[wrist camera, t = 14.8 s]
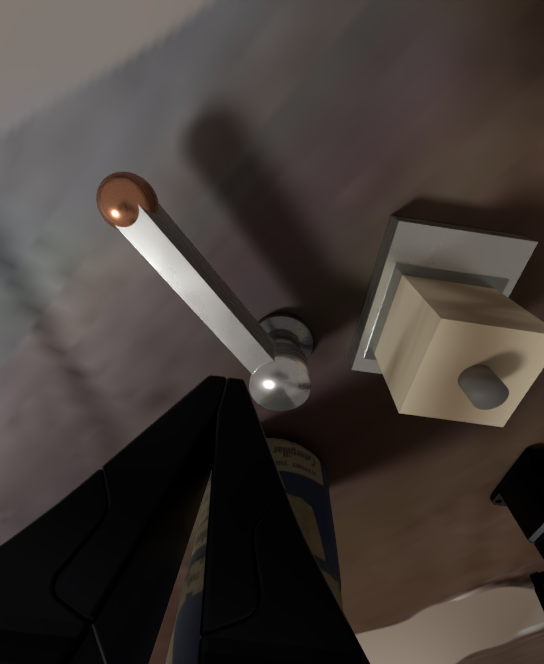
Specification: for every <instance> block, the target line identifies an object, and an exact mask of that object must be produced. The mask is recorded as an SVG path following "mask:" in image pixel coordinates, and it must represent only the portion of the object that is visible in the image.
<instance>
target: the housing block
mask: <svg viewBox="0 0 544 664" xmlns="http://www.w3.org/2000/svg"><path fill="white" fill-rule="evenodd" d="M374 354H375V357H376V359H377V361H378V364H379V366H380V369H381V371H382V374H383V376H384V378H385V381H386V383H387V386H388V388H389V390H390V393H391V395H392V398H393V400H394V402H395V405H396V407H397V410H398V412H399V413H402V414H409V415H416V416H424V417H431V418H438V419H446V420H453V421H461V422H468V423H475V424H483V425H490V426H497V427H504V425H505V424H506V422H507V421H508V419H509V418H510V416H511V415H512V413H513V412H514V410H515V409H516V407H517V406H518V405H519V403H520V402H521V400H522V399H523V397H524V396H525V394H526V393H527V391H528V390H529V388H530V387H531V385H532V384H533V382H534V381H535V380H536V378H537V377H538V375H539V374H540V372H541V371H542V369H543V368H544V322H543V321H541V320H540V319H538V318H537V317H535V316H534V315H533V314H531V313H530V312H528V311H527V310H525V309H524V308H522V307H521V306H520V305H518V304H517V303H515V302H514V301H512V300H511V299H509V298H508V297H506V296H505V295H504V294H502V293H501V292H499V291H498V290H496V289H494V288H488V287H481V286H474V285H468V284H461V283H454V282H448V281H441V280H434V279H428V278H421V277H414V276H408V275H402V277H401V280H400V283H399V286H398V288H397V291H396V294H395V297H394V300H393V302H392V305H391V308H390V311H389V314H388V317H387V319H386V322H385V325H384V328H383V331H382V334H381V336H380V339H379V342H378V345H377V348H376V350H375V353H374Z"/></svg>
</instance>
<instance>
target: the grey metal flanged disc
mask: <svg viewBox="0 0 544 664" xmlns="http://www.w3.org/2000/svg"><path fill="white" fill-rule="evenodd" d="M258 323H259V324H260V325H261V326H262V327H263V329H264V330H265V331H266V332H267V333H268V334H269V336H270V337H271V338H272V339H273V340H274V342H286V343H290V344H293V345H295V346H297V347H299V348H300V349H301V350H302V351H303V352H304V353H305V355H306V357H307V359H308V358H309V357H310V355H311V353H312V350H313V339H312V333H311V330H310V328H309V327H308V325H307V324H306V323H305V322H304V321H303V320H302V319H300V318H299V317H297V316H295V315H292V314H288V313H275V314H271V315H268V316H266V317H264V318H262V319H261V320H260V321H259V322H258Z"/></svg>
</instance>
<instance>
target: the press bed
mask: <svg viewBox="0 0 544 664" xmlns="http://www.w3.org/2000/svg"><path fill="white" fill-rule="evenodd" d="M537 244H538V242H537V241H534V240H531V239H529V238H526V237H524V236H521V235H517V234H510V233H504V232H497V231H490V230H484V229H477V228H471V227H464V226H458V225H451V224H444V223H438V222H431V221H425V220H418V219H412V218H405V217H399V216H392V215H390V219H389V222H388V225H387V229H386V232H385V235H384V238H383V242H382V245H381V248H380V252H379V255H378V258H377V261H376V265H375V268H374V271H373V275H372V278H371V281H370V285H369V288H368V291H367V294H366V298H365V301H364V304H363V308H362V311H361V314H360V318H359V321H358V324H357V327H356V331H355V334H354V337H353V341H352V344H351V347H350V350H349V354H348V359H349V363H350V366H351V370H357V371H364V372H371V373H379V374H382V371H381V369H380V366H379V364H378V361H377V359H376V357H375V354H374V353H375V350H376V348H377V345H378V342H379V339H380V336H381V334H382V331H383V328H384V325H385V322H386V319H387V317H388V314H389V311H390V308H391V305H392V302H393V300H394V297H395V294H396V291H397V288H398V286H399V283H400V280H401V277H402V275H408V276H414V277H421V278H428V279H434V280H441V281H448V282H454V283H461V284H468V285H474V286H481V287H488V288H494V289H496V290H498V291H499V292H501V293H502V294H504V295H505V296H506V297H509V295H510V294H511V292H512V290H513V288H514V286H515V284H516V282H517V281H518V279H519V277H520V275H521V273H522V271H523V270H524V268H525V266H526V264H527V262H528V260H529V258H530V257H531V255H532V253H533V251H534V249H535V247H536V245H537Z"/></svg>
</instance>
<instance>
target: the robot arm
mask: <svg viewBox="0 0 544 664" xmlns="http://www.w3.org/2000/svg"><path fill="white" fill-rule="evenodd" d="M211 470H212V476H211V489H210V503H209V516H208V529H207V543H206V556H205V569H204V583H203V596H202V610H201V623H200V637H199V650H198V663H197V664H370V663H369V661H368V659H367V657H366V655H365V653H364V651H363V650H362V648H361V646H360V644H359V642H358V640H357V638H356V636H355V634H354V632H353V630H352V628H351V626H350V625H349V623H348V621H347V619H346V617H345V615H344V613H343V611H342V609H341V607H340V605H339V603H338V602H337V600H336V598H335V596H334V594H333V592H332V590H331V588H330V586H329V584H328V582H327V580H326V579H325V577H324V575H323V573H322V571H321V569H320V567H319V565H318V563H317V561H316V559H315V557H314V555H313V553H312V551H311V548H310V546H309V544H308V542H307V540H306V538H305V536H304V534H303V531H302V529H301V526H300V524H299V522H298V519H297V517H296V514H295V512H294V510H293V507H292V504H291V502H290V499H289V496H288V494H287V493H286V489H285V486H284V484H283V481H282V478H281V476H280V473H279V471H278V468H277V465H276V463H275V460H274V457H273V455H272V452H271V449H270V447H269V444H268V442H267V439H266V436H265V434H264V431H263V428H262V426H261V423H260V420H259V418H258V415H257V413H256V410H255V407H254V405H253V402H252V399H251V397H250V394H249V391H248V389H247V386H246V384H245V381H244V380H243V379H238V378H231V377H229V378H227V380H226V378H225V377H223V376H216V375H210V376H208V377H207V378H205V379H204V380H203V381H202V382H201V383H200V384H198V385H197V386H196V387H195V388H194V389H193V390H191V391H190V392H189V393H188V394H187V395H185V396H184V397H183V398H182V399H181V400H180V401H178V402H177V403H176V404H175V405H174V406H173V407H171V408H170V409H169V410H168V411H167V412H166V413H164V414H163V415H162V416H161V417H160V418H158V419H157V420H156V421H155V422H154V423H153V424H151V425H150V426H149V427H148V428H147V429H146V430H144V431H143V432H142V433H141V434H140V435H139V436H137V437H136V438H135V439H134V440H133V441H131V442H130V443H129V444H128V445H127V446H126V447H124V448H123V449H122V450H121V451H120V452H119V453H117V454H116V455H115V456H114V457H113V458H112V459H110V460H109V461H108V462H107V463H106V464H105V465H103V466H102V470H100V469H99V470H97V471H96V472H95V473H94V474H93V475H91V476H90V477H89V478H88V479H87V480H85V481H84V482H83V483H82V484H81V485H79V486H78V487H77V488H76V489H75V490H73V491H72V492H71V493H70V494H68V495H67V496H66V497H65V498H63V499H62V500H61V501H60V502H59V503H57V504H56V505H55V506H54V507H52V508H51V509H50V510H48V511H47V512H46V513H44V514H43V515H42V516H40V517H39V518H38V519H36V520H35V521H34V522H32V523H31V524H30V525H28V526H27V527H25V528H24V529H23V530H21V531H20V532H19V533H17V534H16V535H15V536H13V537H12V538H10V539H9V540H8V541H6V542H5V543H3V544H2V545H1V546H0V664H148V663H149V660H150V657H151V654H152V651H153V648H154V645H155V642H156V639H157V636H158V633H159V630H160V627H161V624H162V621H163V618H164V614H165V611H166V608H167V605H168V602H169V599H170V596H171V593H172V590H173V587H174V584H175V581H176V578H177V575H178V572H179V569H180V566H181V563H182V560H183V556H184V553H185V550H186V547H187V544H188V541H189V538H190V535H191V532H192V529H193V526H194V523H195V520H196V517H197V514H198V511H199V508H200V505H201V502H202V498H203V495H204V492H205V489H206V486H207V483H208V480H209V477H210V474H211ZM490 499H491V501H492V503H493V504H494V505H500V506H507V507H508V508H509V510H510V512H511V513H512V515H513V516H514V518H515V520H516V521H517V523H518V525H519V526H520V528H521V530H522V531H523V533H524V535H525V536H526V538H527V539H528V541H529V542H530V543H534V545H535V546H536V548H537V549H538V551H539V553H540V554H541V556H542V558H543V559H544V450H541V449H528V450H526V451H525V452H524V453H523V454H522V456H521V457H520V458H519V459H518V461H517V462H516V463H515V465H514V466H513V467H512V469H511V470H510V471H509V473H508V474H507V475H506V477H505V478H504V479H503V480H502V482H501V483H500V484H499V486H498V487H497V488H496V490H495V491H494V492H493V494H492V495H491V496H490ZM530 577H531V579H532V582H533V584H534V586H535V588H534V589H535V592H536V594H537V596H538V599H539V601H540V603H541V606H542V608H543V611H544V571H542V572H540V573H538V572H535V573H532V574H530Z"/></svg>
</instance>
